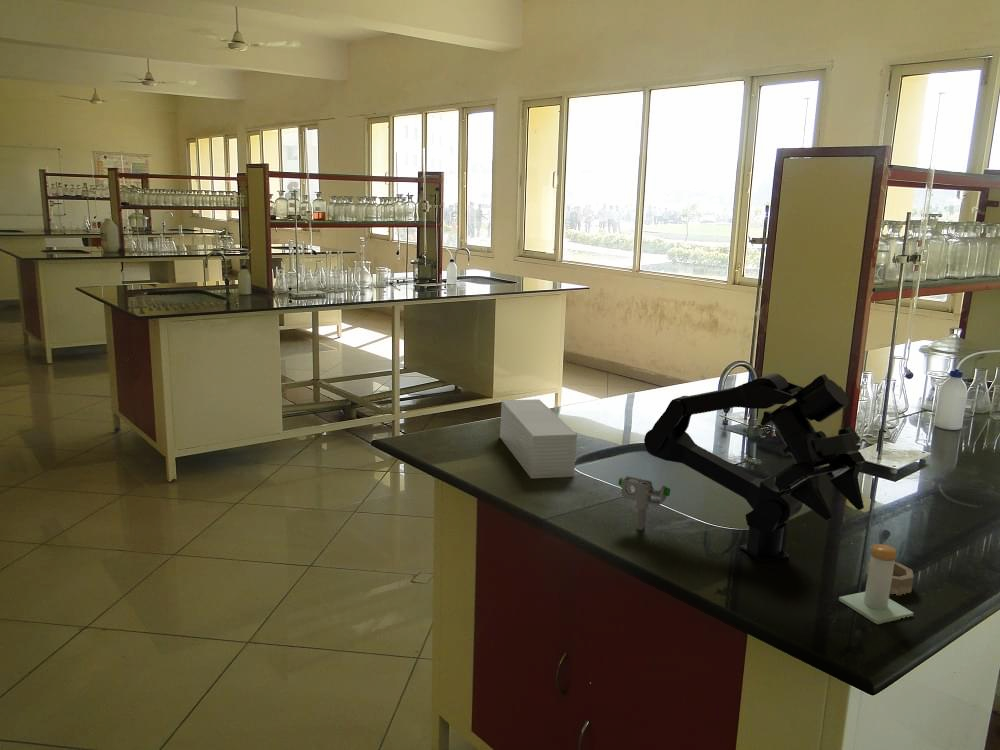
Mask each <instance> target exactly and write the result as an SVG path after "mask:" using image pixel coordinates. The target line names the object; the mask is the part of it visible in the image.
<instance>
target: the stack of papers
mask: <svg viewBox="0 0 1000 750" xmlns="http://www.w3.org/2000/svg"><path fill="white" fill-rule="evenodd" d="M500 406H501V408H500V431H499V432H500V433H499V438H500V439H501V440H502V442H503V443H504V445H505V446H506V447H507V449H508V451H510V453H511V454H512V455H513V457H514V458H515V459H516V460H517V461H518V463H519V465H521V467H522V468H523V470H524V471H525V472H526V474H527V476H528V477H530V479H547V478H549V479H550V478H570V477H571V478H572V477H573V478H574V477H575V471H576V470H575V468H576V466H575V465H576V456H577V455H576V452H577V438H578V435H577V433H576V432H575V431H574V430H573V429H571V427H570V426H568V425H567V424H566V423H565V422H564V420H562V419H561V418H560V417H558V415H557V414H555V413H554V412H553V411H552V410H551V409H550V408H549V407H548V406H547V405H546V404H545V403H544V402H543V401H542V400H541V399H539V398H538V399H504V400H503V399H502V400H501V405H500Z"/></svg>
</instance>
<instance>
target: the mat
mask: <svg viewBox="0 0 1000 750" xmlns="http://www.w3.org/2000/svg"><path fill="white" fill-rule="evenodd" d="M864 597H865V591H861V592H857V593H852V594H847V595H843V596H838V601H839V602H841V603H842V604H844V605H845V606H847V607H849V608H850V609H852V610H854V611H855V612H857V613H858V614H860V615H862V616H864V618H866V619H868V620H869V621H871V622H872V623H874V624H876V625H881V624H884V623H889V622H892V621H898V620H901V618H903V619H906V618H905V617H907V618H911V617H914V612H913V611H911V610H909V609H908V608H906V607H904V606H903V605H901V604H899V603H898V602H896V601H894V600H893V599H891V598H889V601H888V608H887V609H885V610H877V609H873V608H870V607H868V606H867V605H865V604H864ZM910 616H911V617H910Z"/></svg>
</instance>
